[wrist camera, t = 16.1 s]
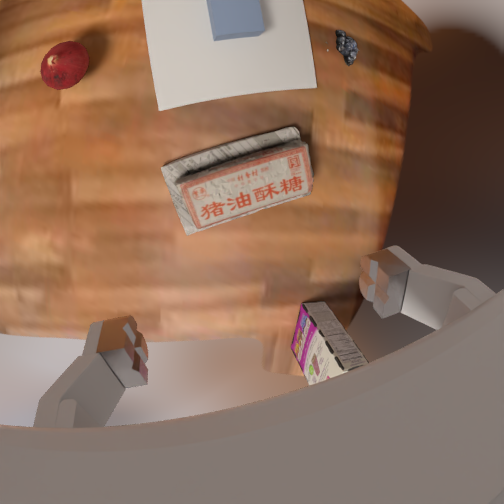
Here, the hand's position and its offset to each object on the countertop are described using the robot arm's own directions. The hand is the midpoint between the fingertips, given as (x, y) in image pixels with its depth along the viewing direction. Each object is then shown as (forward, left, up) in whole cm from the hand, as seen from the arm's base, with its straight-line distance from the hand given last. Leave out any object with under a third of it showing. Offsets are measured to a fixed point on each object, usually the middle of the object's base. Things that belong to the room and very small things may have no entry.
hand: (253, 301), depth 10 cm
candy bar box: (+13, -33, -29) cm, 46 cm away
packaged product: (+4, -4, -30) cm, 30 cm away
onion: (-13, +16, -29) cm, 36 cm away
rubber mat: (+6, +16, -29) cm, 34 cm away
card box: (+7, +14, -27) cm, 31 cm away
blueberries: (+21, +13, -30) cm, 39 cm away
